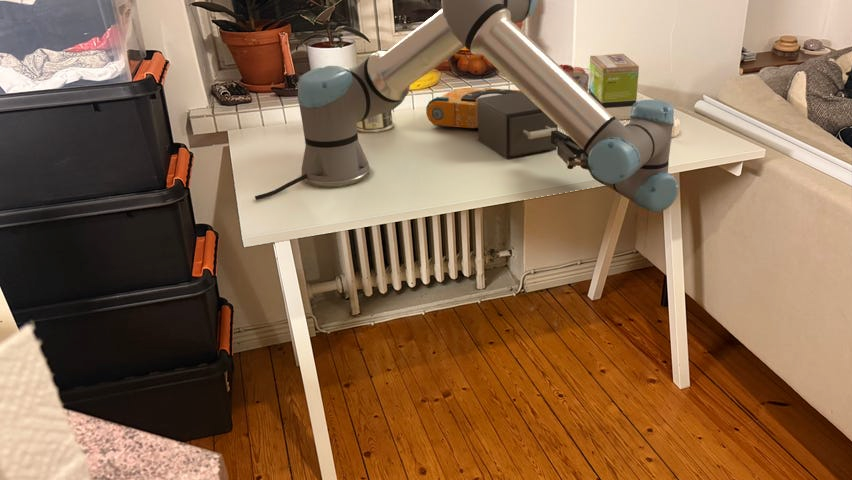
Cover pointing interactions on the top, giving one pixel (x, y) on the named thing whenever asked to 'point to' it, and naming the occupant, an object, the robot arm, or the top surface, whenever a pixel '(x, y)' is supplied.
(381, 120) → the coffee can
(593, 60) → the tea box
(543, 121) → the drawer
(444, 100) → the device
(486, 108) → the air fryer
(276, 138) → the top surface
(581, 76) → the food item
